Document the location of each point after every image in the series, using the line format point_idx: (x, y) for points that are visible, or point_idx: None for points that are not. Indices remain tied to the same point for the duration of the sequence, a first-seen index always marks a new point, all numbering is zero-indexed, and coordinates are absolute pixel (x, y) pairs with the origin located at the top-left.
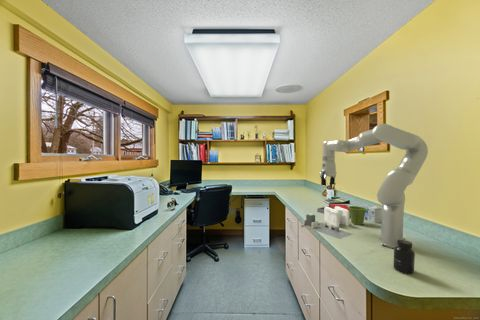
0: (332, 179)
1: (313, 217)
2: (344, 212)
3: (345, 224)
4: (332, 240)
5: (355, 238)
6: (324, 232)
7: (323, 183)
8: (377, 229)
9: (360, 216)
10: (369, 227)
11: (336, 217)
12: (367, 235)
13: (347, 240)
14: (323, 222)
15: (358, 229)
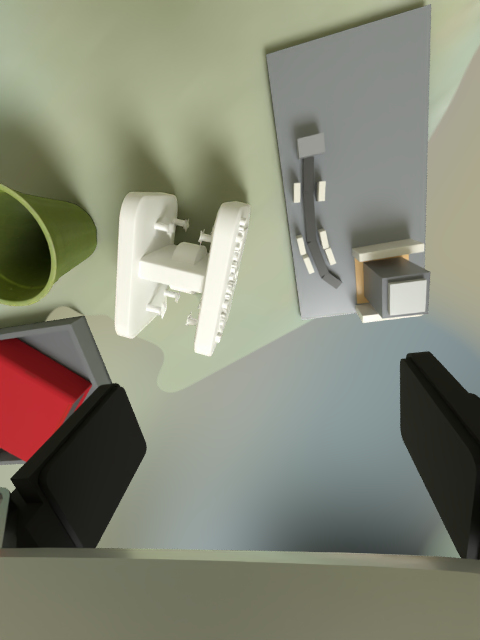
0: (72, 494)
1: (398, 272)
2: (147, 229)
3: (176, 210)
4: (456, 40)
5: (287, 17)
6: (410, 149)
7: (477, 401)
8: (31, 106)
9: (42, 199)
10: (52, 153)
11: (244, 212)
12: (170, 37)
13: (367, 3)
14: (308, 256)
15: (140, 148)
